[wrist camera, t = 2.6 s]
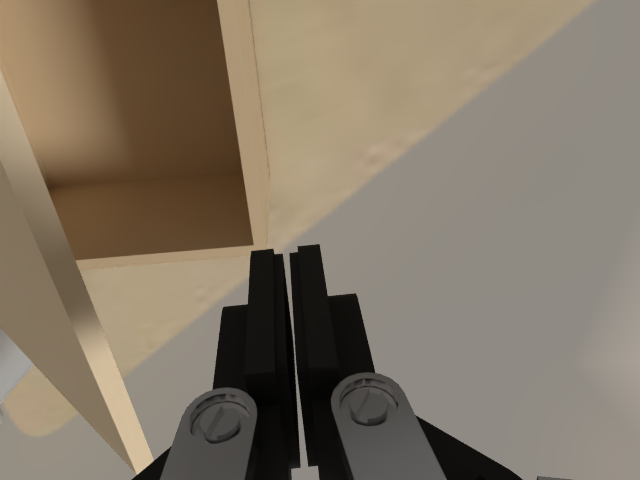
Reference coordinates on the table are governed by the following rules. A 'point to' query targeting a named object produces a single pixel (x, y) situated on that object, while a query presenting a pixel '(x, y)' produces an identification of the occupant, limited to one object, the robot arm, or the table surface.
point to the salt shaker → (11, 366)
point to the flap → (55, 299)
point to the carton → (142, 125)
